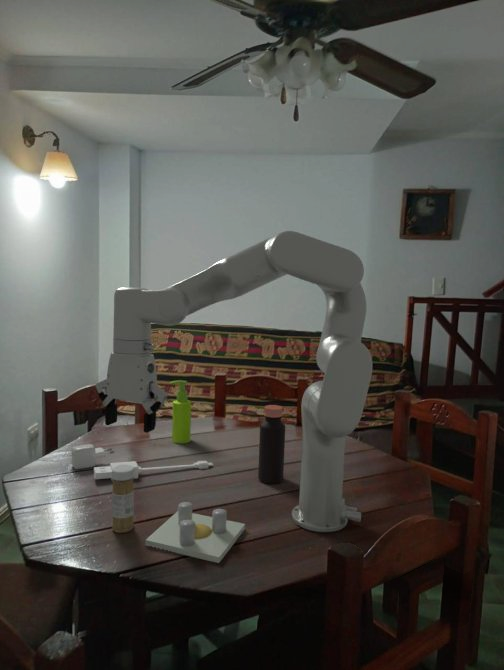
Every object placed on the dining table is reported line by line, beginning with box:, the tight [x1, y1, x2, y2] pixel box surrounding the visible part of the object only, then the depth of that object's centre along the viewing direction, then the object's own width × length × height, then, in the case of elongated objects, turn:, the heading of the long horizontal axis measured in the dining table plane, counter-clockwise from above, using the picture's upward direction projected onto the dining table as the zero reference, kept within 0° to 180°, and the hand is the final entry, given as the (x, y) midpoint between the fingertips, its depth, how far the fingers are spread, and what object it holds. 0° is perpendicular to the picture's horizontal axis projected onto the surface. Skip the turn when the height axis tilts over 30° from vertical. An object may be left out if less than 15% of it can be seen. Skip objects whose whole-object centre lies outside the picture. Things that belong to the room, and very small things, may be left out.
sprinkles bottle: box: [111, 465, 135, 534], centre depth 106 cm, size 5×5×13 cm
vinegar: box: [257, 404, 286, 485], centre depth 134 cm, size 7×7×20 cm
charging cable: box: [93, 460, 214, 482], centre depth 137 cm, size 5×32×3 cm, turn 113°
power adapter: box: [71, 443, 115, 470], centre depth 141 cm, size 11×5×6 cm, turn 121°
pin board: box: [145, 501, 246, 564], centre depth 104 cm, size 16×14×5 cm
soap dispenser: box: [169, 379, 192, 444], centre depth 163 cm, size 6×7×20 cm
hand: (129, 427), depth 106 cm, fingers open, 9 cm apart
